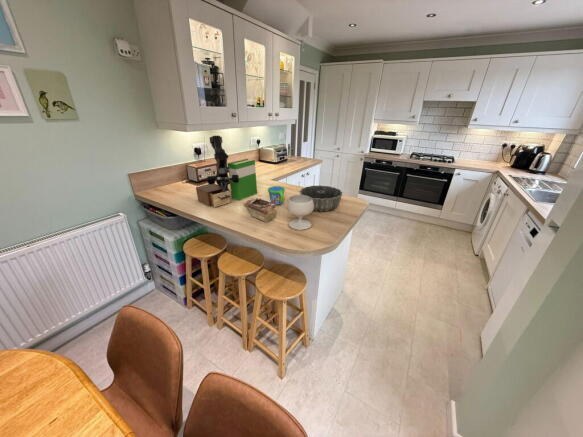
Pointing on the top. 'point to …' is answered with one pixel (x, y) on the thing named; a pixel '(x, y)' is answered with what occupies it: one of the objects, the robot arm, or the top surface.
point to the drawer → (219, 198)
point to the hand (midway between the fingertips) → (224, 191)
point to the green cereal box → (243, 178)
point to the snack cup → (276, 194)
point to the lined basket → (261, 209)
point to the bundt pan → (323, 197)
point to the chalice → (300, 210)
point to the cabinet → (206, 192)
